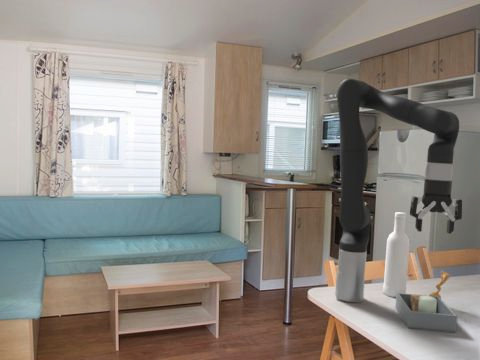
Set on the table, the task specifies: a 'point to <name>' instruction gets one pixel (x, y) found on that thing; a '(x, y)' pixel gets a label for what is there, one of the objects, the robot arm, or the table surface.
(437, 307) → the tote
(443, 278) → the figurine
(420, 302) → the sage cylinder
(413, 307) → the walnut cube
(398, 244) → the bottle
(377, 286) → the table surface
